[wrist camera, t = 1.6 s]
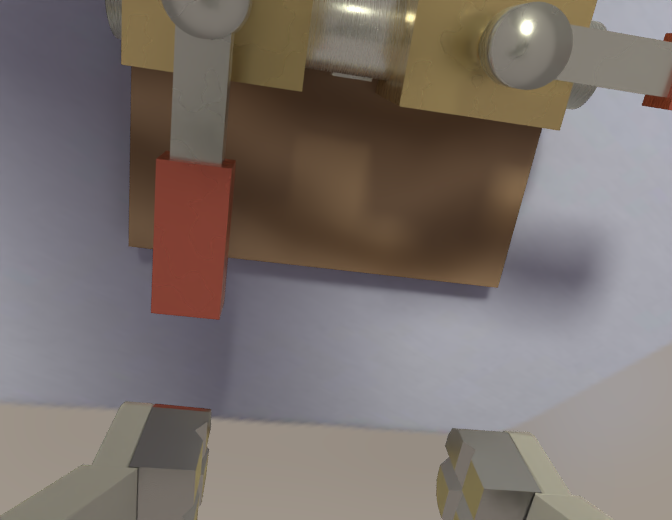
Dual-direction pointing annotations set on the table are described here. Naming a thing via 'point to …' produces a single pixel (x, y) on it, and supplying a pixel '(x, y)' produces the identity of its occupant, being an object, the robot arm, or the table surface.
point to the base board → (349, 179)
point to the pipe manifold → (428, 52)
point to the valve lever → (196, 163)
